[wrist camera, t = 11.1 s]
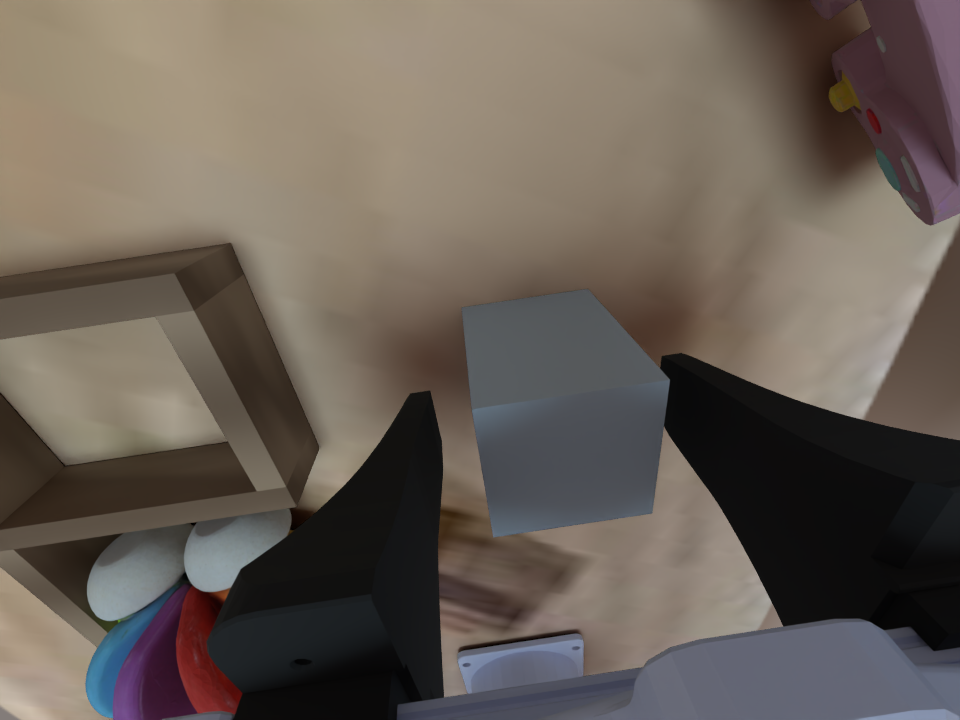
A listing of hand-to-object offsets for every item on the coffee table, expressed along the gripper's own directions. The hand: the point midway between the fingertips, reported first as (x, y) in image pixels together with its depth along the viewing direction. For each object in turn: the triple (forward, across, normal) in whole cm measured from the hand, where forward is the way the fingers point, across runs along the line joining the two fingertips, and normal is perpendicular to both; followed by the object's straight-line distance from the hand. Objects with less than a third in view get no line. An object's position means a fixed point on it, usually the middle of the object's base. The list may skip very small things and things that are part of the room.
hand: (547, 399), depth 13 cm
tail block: (+3, 0, 0) cm, 3 cm away
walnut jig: (+3, +14, +6) cm, 15 cm away
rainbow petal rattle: (+3, +14, +9) cm, 17 cm away
